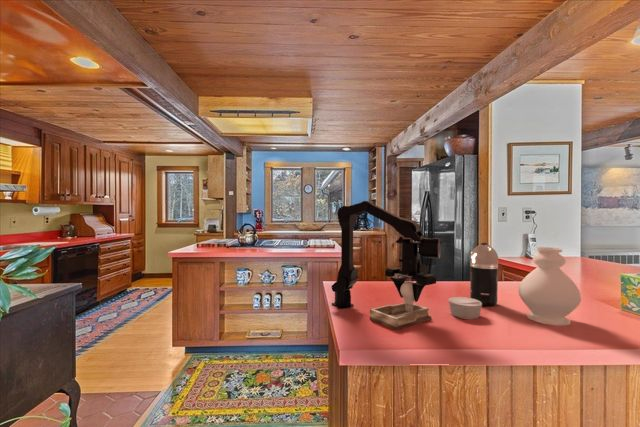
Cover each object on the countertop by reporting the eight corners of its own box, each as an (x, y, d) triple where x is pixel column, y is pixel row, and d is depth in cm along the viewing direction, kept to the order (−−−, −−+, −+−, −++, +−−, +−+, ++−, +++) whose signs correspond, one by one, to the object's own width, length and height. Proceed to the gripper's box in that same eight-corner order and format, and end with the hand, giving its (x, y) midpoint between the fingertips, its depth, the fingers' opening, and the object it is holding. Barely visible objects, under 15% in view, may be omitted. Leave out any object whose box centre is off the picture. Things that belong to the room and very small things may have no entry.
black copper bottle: (470, 305, 129) (471, 243, 129) (469, 298, 139) (469, 240, 138) (499, 308, 125) (500, 244, 125) (496, 301, 135) (496, 241, 134)
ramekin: (476, 323, 110) (476, 307, 109) (443, 315, 117) (443, 301, 117) (485, 315, 118) (486, 300, 118) (454, 308, 125) (454, 295, 125)
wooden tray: (369, 319, 113) (369, 309, 113) (404, 310, 123) (404, 301, 123) (395, 329, 103) (395, 319, 103) (431, 319, 113) (431, 309, 113)
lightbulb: (419, 315, 112) (419, 284, 111) (400, 314, 113) (400, 283, 113) (417, 309, 118) (417, 280, 118) (399, 308, 119) (399, 279, 119)
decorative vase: (566, 332, 101) (567, 253, 100) (508, 316, 116) (509, 247, 115) (589, 322, 110) (590, 249, 110) (532, 308, 125) (533, 244, 125)
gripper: (446, 257, 112) (445, 302, 112) (404, 251, 127) (404, 290, 127) (425, 260, 105) (425, 307, 106) (384, 253, 121) (384, 294, 121)
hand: (409, 299), depth 115 cm, fingers closed on lightbulb, 6 cm apart
